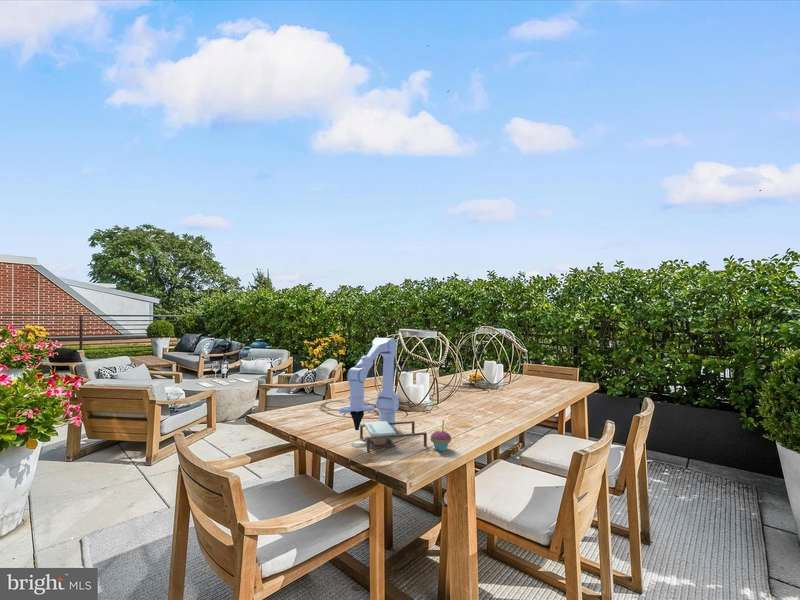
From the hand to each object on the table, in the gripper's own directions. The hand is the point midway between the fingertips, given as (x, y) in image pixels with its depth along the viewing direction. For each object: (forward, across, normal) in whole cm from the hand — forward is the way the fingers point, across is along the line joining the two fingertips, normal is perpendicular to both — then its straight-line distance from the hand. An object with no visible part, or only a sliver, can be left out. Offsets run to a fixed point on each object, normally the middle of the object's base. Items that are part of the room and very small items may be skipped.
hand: (356, 429), depth 162 cm
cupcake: (+8, +33, -11) cm, 36 cm away
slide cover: (+1, +10, 0) cm, 10 cm away
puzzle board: (+7, +12, 0) cm, 14 cm away
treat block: (+6, +10, 0) cm, 11 cm away
